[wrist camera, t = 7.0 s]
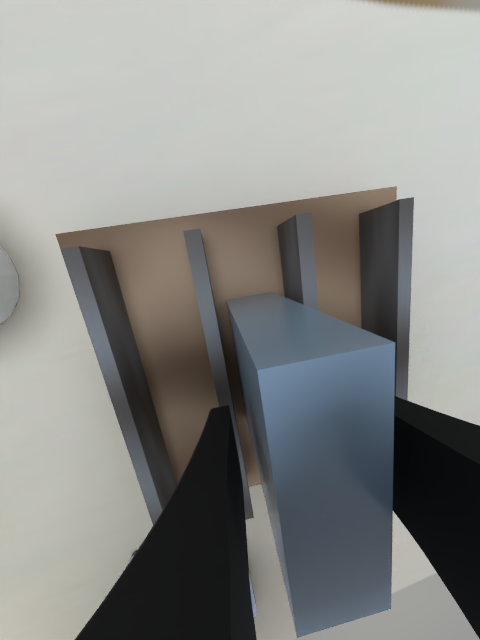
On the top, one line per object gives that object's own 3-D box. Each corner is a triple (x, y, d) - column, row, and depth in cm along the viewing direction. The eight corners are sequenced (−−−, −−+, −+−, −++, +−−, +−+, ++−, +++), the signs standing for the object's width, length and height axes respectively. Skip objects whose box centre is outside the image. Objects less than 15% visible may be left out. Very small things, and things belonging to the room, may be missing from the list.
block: (286, 409, 13) (390, 608, 6) (246, 418, 13) (297, 637, 5) (272, 291, 12) (395, 342, 4) (225, 299, 11) (257, 370, 4)
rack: (376, 435, 16) (427, 486, 13) (154, 487, 15) (135, 563, 11) (375, 195, 13) (447, 164, 9) (75, 238, 11) (4, 223, 7)
